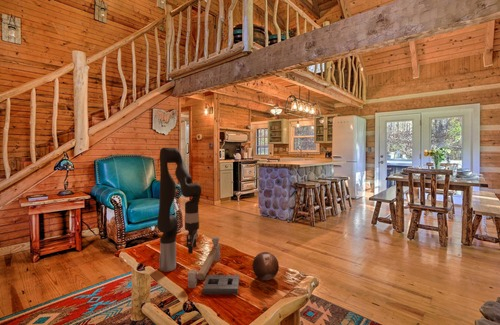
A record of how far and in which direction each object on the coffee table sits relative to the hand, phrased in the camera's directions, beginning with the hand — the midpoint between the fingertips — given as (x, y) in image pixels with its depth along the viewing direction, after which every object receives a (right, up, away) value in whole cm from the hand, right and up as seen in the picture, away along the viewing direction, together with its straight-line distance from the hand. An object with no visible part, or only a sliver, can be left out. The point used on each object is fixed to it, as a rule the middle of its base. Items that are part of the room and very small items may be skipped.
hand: (192, 250), depth 136 cm
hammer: (+6, -19, +20) cm, 29 cm away
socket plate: (+16, -20, 0) cm, 25 cm away
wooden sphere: (+40, -20, +8) cm, 45 cm away
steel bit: (0, -20, +1) cm, 20 cm away
